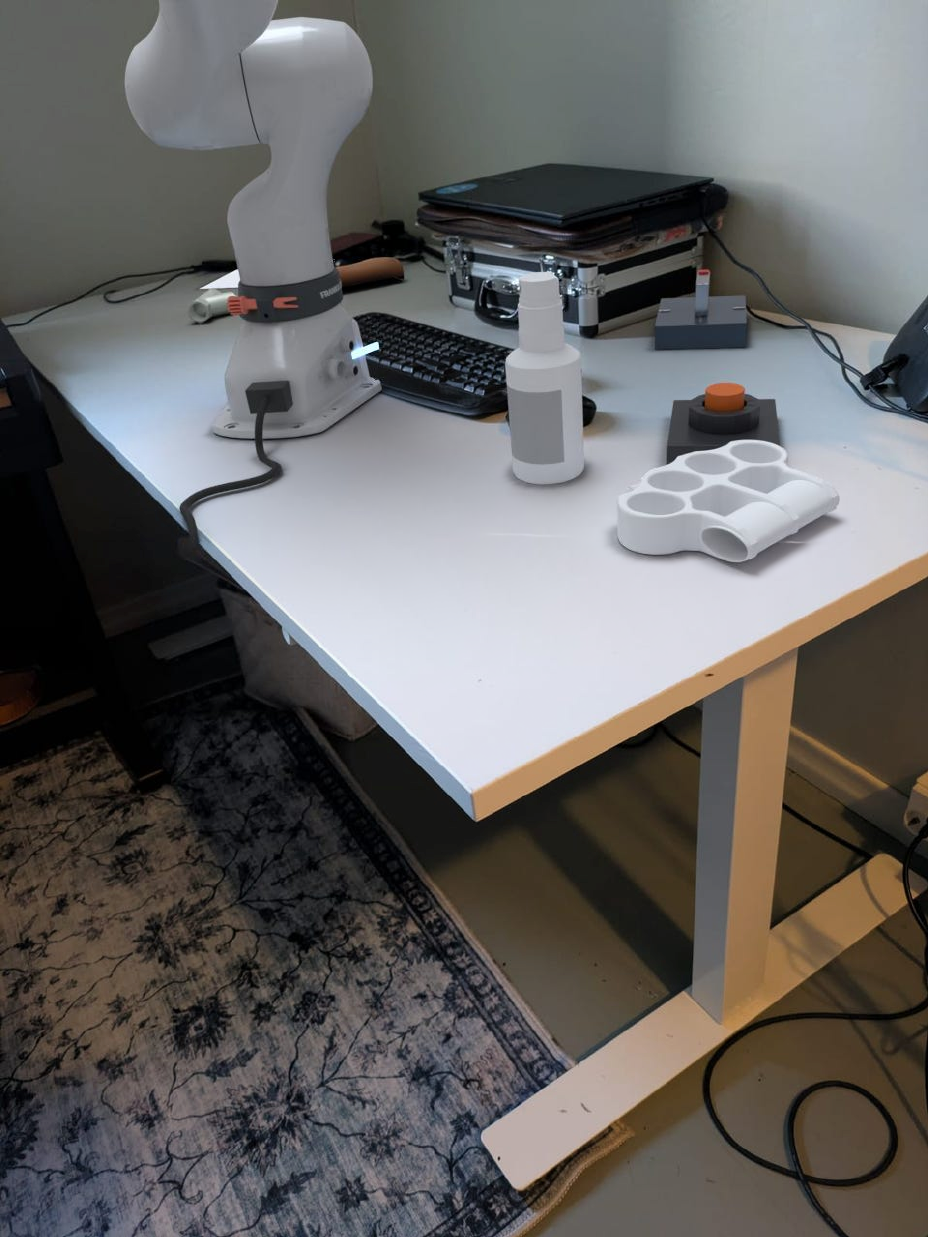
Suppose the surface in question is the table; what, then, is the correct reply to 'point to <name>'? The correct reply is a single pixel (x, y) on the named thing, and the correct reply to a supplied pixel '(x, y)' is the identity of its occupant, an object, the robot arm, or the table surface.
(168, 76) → the robot arm
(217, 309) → the pipe fitting
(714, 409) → the release button
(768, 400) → the release housing
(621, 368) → the table surface
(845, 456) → the table surface
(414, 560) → the table surface
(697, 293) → the upright grey plate
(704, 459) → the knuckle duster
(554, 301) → the spray bottle
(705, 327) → the grey flat block
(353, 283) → the sunglasses case
